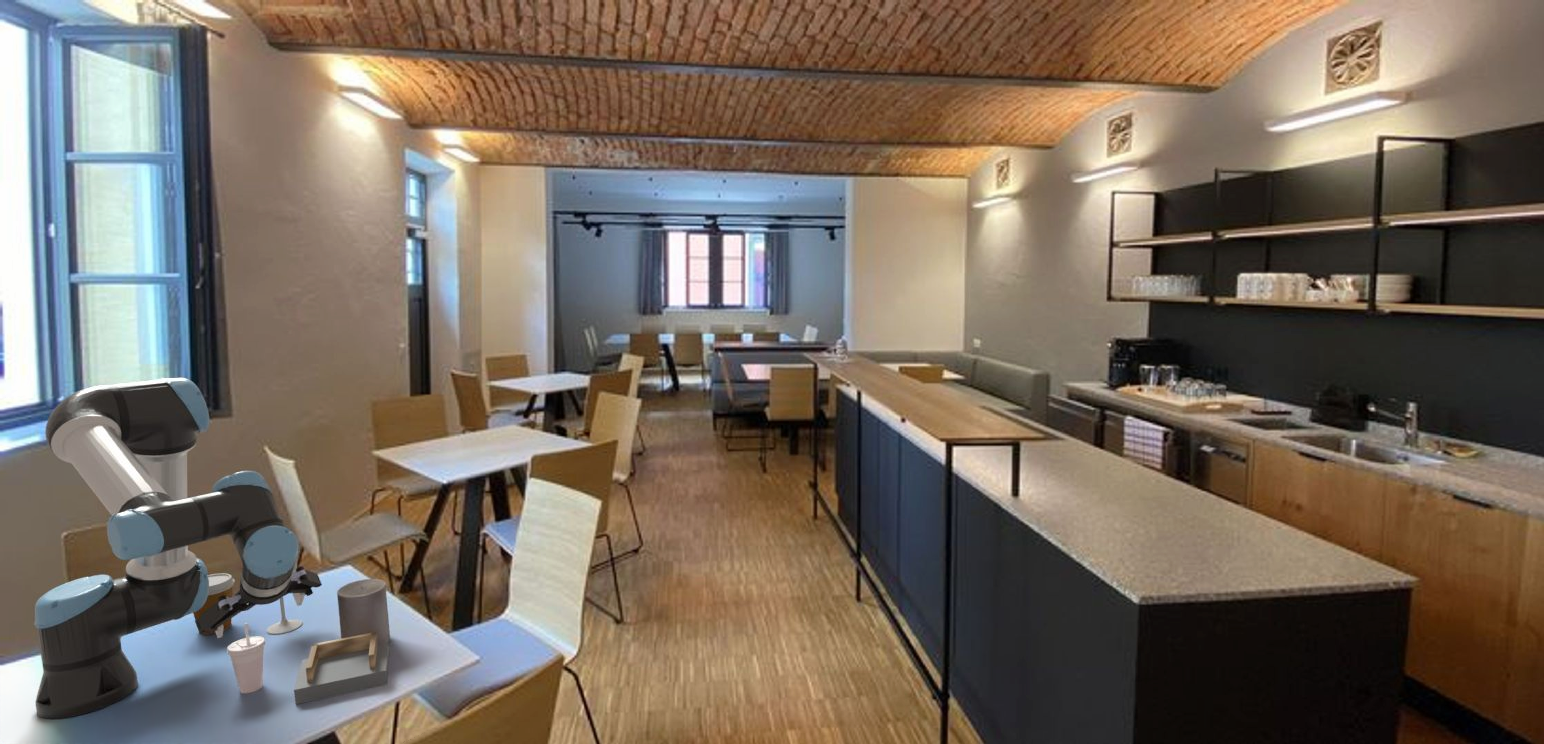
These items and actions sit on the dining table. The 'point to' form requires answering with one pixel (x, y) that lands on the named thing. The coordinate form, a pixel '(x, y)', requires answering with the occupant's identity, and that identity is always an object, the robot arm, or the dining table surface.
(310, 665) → the bay walls
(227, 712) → the dining table surface
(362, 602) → the pillar candle
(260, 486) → the robot arm
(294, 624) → the wineglass
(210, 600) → the disposable coffee cup
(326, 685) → the dock
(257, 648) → the smoothie
